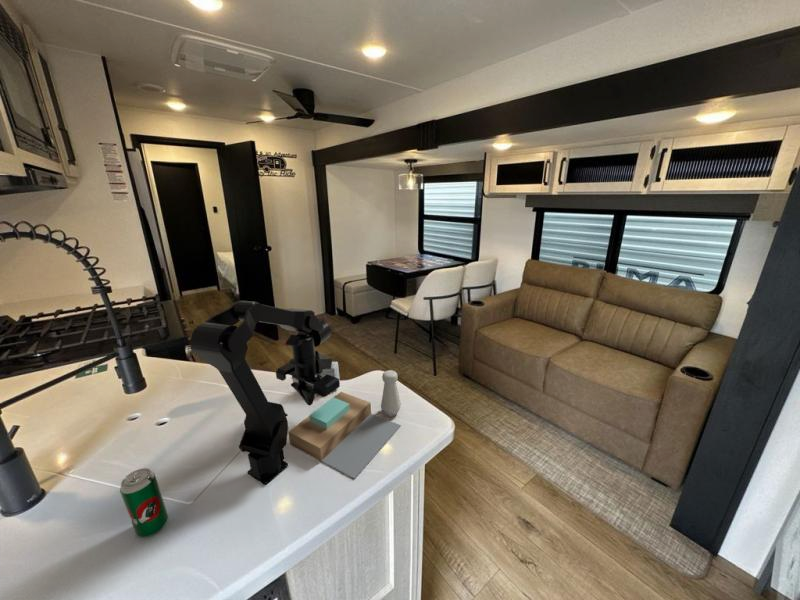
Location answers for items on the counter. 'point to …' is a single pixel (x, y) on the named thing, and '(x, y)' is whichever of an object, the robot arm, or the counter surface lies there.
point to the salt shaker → (390, 394)
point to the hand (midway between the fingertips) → (310, 404)
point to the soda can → (144, 502)
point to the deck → (329, 429)
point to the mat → (361, 445)
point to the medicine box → (332, 371)
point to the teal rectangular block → (329, 413)
